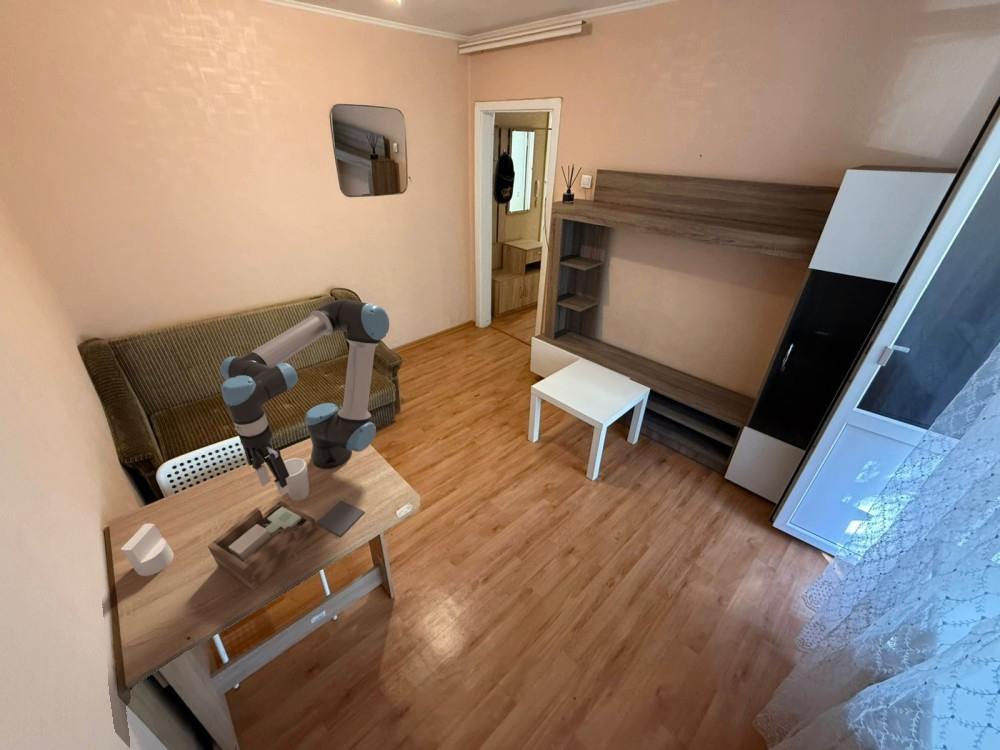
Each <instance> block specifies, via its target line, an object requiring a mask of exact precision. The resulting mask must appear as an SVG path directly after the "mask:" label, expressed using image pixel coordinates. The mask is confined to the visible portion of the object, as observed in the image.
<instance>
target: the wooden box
mask: <svg viewBox="0 0 1000 750" xmlns="http://www.w3.org/2000/svg"><path fill="white" fill-rule="evenodd" d="M281 507H284V508H285V509H287V510H289V511H291V512H293V513H295V514H297V515H298V516H300V517H301V518H302V519H301V520H300V521H299V522H298V523H297V525H298V526H299V527H298V528H297V529H296V530H293V527H290V526H287V527H286V528H285V529H284V530H283V529H282V530H281V532H280V533H279V534H278V533H277V534H276V536H274V537H273V538H272V539H271V540H270V541H269V542H268V543H267V544H266V545H264V546H263V547H262V548H260V550H258V551H257V552H256V553H255V554H254V555H253V556H252V557H250V558H249V559H248V560H247V561H246V562H245V561H241V560H239V559H238V558H236V557H235V556H233V554H232V553H231V551H230V549H229V546H230V545H231V544H232V543H234V542H235V541H236V540H237V539H239V538H240V537H241V536H242V535H244V534H245V533H246V532H247V531H249V530H250V529H251V528H252V527H254V526H255V525H256V524H258V525H259V526H261V527H264V528H266V526H265V524H271V522H269V521H268V520H267V518H268V517H269V516H271V515H272V514H273V513H274V512H276V511H277V510H278V509H279V508H281ZM316 522H317V521H316V519H315V518H314V517H312V516H310V515H308V514H306V513H305V512H303V511H302V510H299V509H297V508H296V507H293V506H291V505H290V504H287V503H286V502H284V501H282V500H279V501H278V502H277V503H276V504H274V505H273V506H272V507H270V508H269V509H268V510H266V511H265V512H264V513H263V514H262V512H261V509H259V508H257V507H256V508H255V509H253V511H251V512H250V513H248V514H247V515H246V516H244V517H243V518H242V519H241V520H239V521H238V522H237V523H236V524H234V525H233V526H231V527H230V528H229V529H227V530H226V531H225V532H224V533H222V534H221V535H220V536H219V537H217V538H216V539H215V540H213V541H212V542H211V543H209V544H208V545H207V548H208V549H209V551H210V553H211V555H212V557H213V559H214V561H215V563H216V564H217V566H218V567H219V568H220V569H222V570H224V571H225V572H226V573H228V574H229V575H230V576H232V577H233V578H235V579H237V580H238V581H240V582H241V583H243V584H244V585H246V586H247V587H248V588H250V589H251V590H252V591H254V590H255V589H257V588H258V587H259V586H260V585H261V584H262V583H263V582H264V581H265V580H266V579H267V578H269V577H270V576H271V574H273V573H275V571H276V570H277V569H278V568H279V567H280V566H281V565H282V564H284V563H285V562H286V560H288V559H289V558H290V557H291V556H292V555H293V554H294V553H295V552H297V551H298V549H299V548H300V547H302V546H303V545H304V544H305V543H306V542H307V541H308V540H309V539H311V537H312V536H314V535H315V534H316V533H317V531H319V528H318V524H316Z"/></svg>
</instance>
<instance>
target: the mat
mask: <svg viewBox="0 0 1000 750" xmlns="http://www.w3.org/2000/svg"><path fill="white" fill-rule="evenodd" d="M365 513H366V512H365V510H363V509H361V508H358V507H357V506H354V505H352V504H351V503H348V502H346V501H344V500H342V499H340V500H339V501H338V502H337V503H336V504H335V505H333V506H332V507H331V508H330V509H329V510H328V511H327V512H326V513H324V515H322V517H320V518H319V519H318V520H317V521H315V522H316V525H317V526H320V527H322V528H323V529H325V530H327V531H329V532H331V533H333V534H335V535H336V536H339V537H342V536H344V534H345V533H346V532H348V530H349V529H350V528H351V527H352V526H353V525H354V524H355V523H356V522H357V521H358V520H359V519H361V517H362V516H363V515H364V514H365Z"/></svg>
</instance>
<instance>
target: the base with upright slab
mask: <svg viewBox="0 0 1000 750" xmlns="http://www.w3.org/2000/svg"><path fill="white" fill-rule="evenodd" d="M120 550H121V552H122V553H123V554H124V555H125V558H127V561H128V563H130V564H129V565H130V566H131V567H132V568H133V569H134V571H135V572H136V573H137V574H138V575H139V576H140V577H150V576H153V575H155V574H157V573H158V574H159V573H160V572H161V571H163V570H164V569H165V568H167V567H168V566H169V565H170V564H171V562H172V561H173V559H174V555H175V554H174V552H173V550H172V548H171V546H170V545H169V543H168V542H167V540H166V539H165V538H164V537H163V535H161V532H160V531H159V530H158V528H157V526H156V524H154V523H150V522H149V523H144V524H143V525H142V526H141V527H140V528H139V529H138V530H137V531H136V532H135V533H134V534H133V535H132V537H130V539H129V540H128V541H127V542H126V543H125V544H124V545H123V546H122V547H121V548H120Z"/></svg>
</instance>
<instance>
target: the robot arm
mask: <svg viewBox="0 0 1000 750" xmlns="http://www.w3.org/2000/svg"><path fill="white" fill-rule="evenodd" d="M389 329H390V318H389V315H388V313H387V312H386V310H385V309H384V308H383V307H382V306H379V305H376V304H374V303H368V302H362V301H357V300H352V299H347V298H345V299H344V298H343V299H342V298H341V299H336V300H334V301H333V300H332V301H331V302H329V303H326V304H323V305H321V306H320V307H318V308H315V309H314V310H312V311H311V312H310V314H309V316H308V317H307V318H305V319H304V320H302V321H300V322H298V323H296V324H295V325H293V326H292V327H290V328H288V329H286V330H285V331H284V332H282V333H280V334H279V335H277V336H275V337H274V338H273V337H272V339H270V340H268V341H267V342H265V343H264V344H262V345H260V346H258V347H257V348H255V349H253V350H251V351H250V352H248V353H246V354H245V355H243V356H236V355H235V356H234V355H233V356H229V357H227V358H225V359H224V360H223V361H221V362H222V363H221V365H220V367H219V368H220V369H219V370H220V371H219V372H220V374H221V376H222V378H224V382H223V383H222V384H221V386H220V391H221V395H222V398H223V402H224V404H225V406H226V407H227V410H228V413H229V415H230V417H231V419H232V423H233V425H234V430H235V431H236V432H237V434H238V437H239V440H240V444H241V445H242V447H243V451H244V454H245V458H246V461H247V464H248V466H252V469H253V470H255V472H256V475H257V478H258V480H259V482H260V485H261V487H265V486H266V485H267V484H269V483H270V482H271V481H272V479H271V477H270V474H269V471H270V472H271V474H273V476H274V480H273V482H274V483H275V486H276V488H277V490H278V494H279V495H280V496H279V497H283V496H284V495H286V494H288V493H287V492H288V491H289V487H288V484H287V482H286V478H287V477H289V476H290V475H289V473H288V471H287V468H286V466H285V464H284V459H283V457H282V455H281V451H280V450H279V449H276V450H275V449H273V447H272V444H271V443H270V441H271V439H272V438H273V437H272V436H273V434H272V431H271V430H272V429H271V428H270V426H269V422H268V420H267V419H268V418H267V416H266V413H265V410H264V407H263V406H264V405H265V404H267V403H268V402H270V401H271V400H273V399H274V398H276V397H279V396H280V395H283V394H284V393H286V392H288V391H289V390H290V389H291V388H292V387H294V386H295V385H297V383H298V381H299V378H298V374H297V371H296V370H295V369H294V367H293V366H292V365H290V364H289V363H286V362H285V361H287V360H288V359H290V358H291V357H292V356H294V355H296V354H297V353H298V352H300V351H301V350H303V349H304V348H306V347H308V346H310V345H311V344H312V343H314V342H315V341H317V340H318V339H320V338H322V337H323V336H330V335H331V334H333V333H336V332H343V333H344V332H345V333H346V334H345V336H346V337H345V340H346V341H347V343H349V348H348V349H349V350H348V359H347V367H346V377H345V383H344V384H345V385H344V386H345V387H344V393H343V395H344V397H343V405H342V409H340V410H339V408H338V406H337V405H336V404H335V403H333V402H326V403H321V404H318V405H315V406H313V407H311V408H310V409H308V410H307V412H306V413H305V416H304V417H305V425H306V427H307V429H308V433H309V437H310V440H311V444H312V449H311V455H310V458H311V462H312V465H314V467H316V468H318V469H322V470H323V469H324V470H327V469H328V470H329V469H335V468H337V467H340V466H342V465H344V464H345V463H347V462H348V461H349V460H350V459H351V456H352V454H353V452H359V453H360V452H363V451H365V450H366V449H367V448H368V447H369V446H370V445H371V444H372V443H373V442H374V441H373V440H374V439H375V437H376V433H377V428H376V427H377V426H376V425H375V424H374V423H373V422H372V421H371V419H372V414H371V413H370V412H369V410H368V409H369V402H370V401H369V400H370V393H371V384H372V377H373V376H372V375H373V366H374V360H375V359H374V357H375V352H376V351H375V350H376V347H378V346H379V345H380V344H381V340H383V339H385V338H386V336H387V334H388V332H389V331H390V330H389ZM265 464H266V465H267V467H268V469H269V471H268V469H267V467H266V465H265Z"/></svg>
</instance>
